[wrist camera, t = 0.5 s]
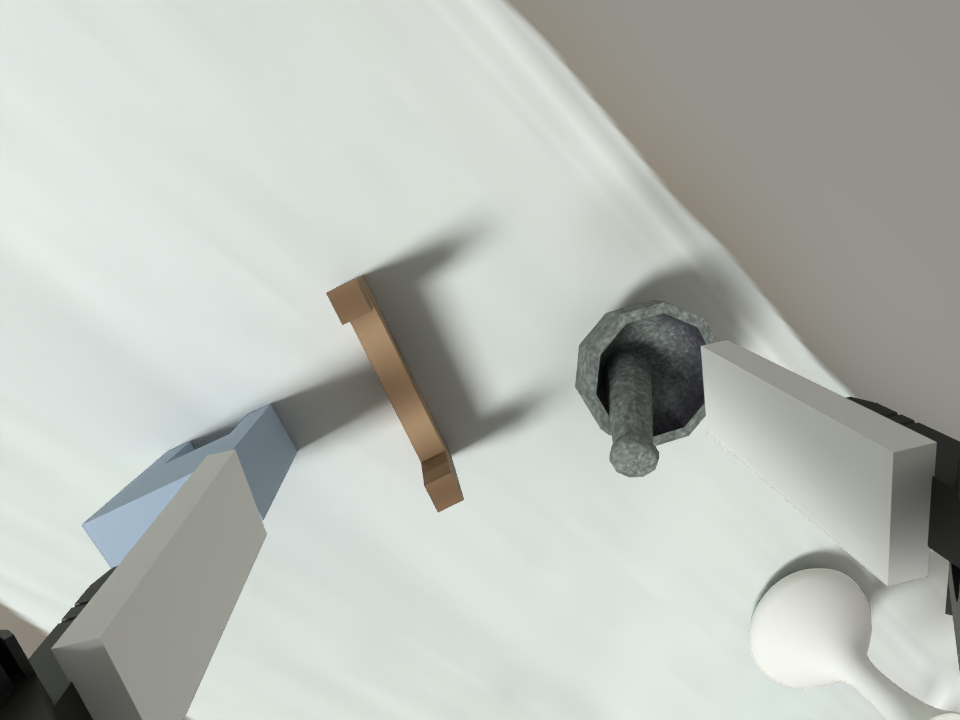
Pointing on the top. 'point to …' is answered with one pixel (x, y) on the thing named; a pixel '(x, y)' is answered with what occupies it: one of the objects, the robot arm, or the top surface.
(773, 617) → the flower in vase
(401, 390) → the wooden drawer pull
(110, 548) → the slotted block
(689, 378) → the mortar and pestle
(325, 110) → the top surface
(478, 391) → the top surface
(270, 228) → the top surface
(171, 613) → the robot arm
